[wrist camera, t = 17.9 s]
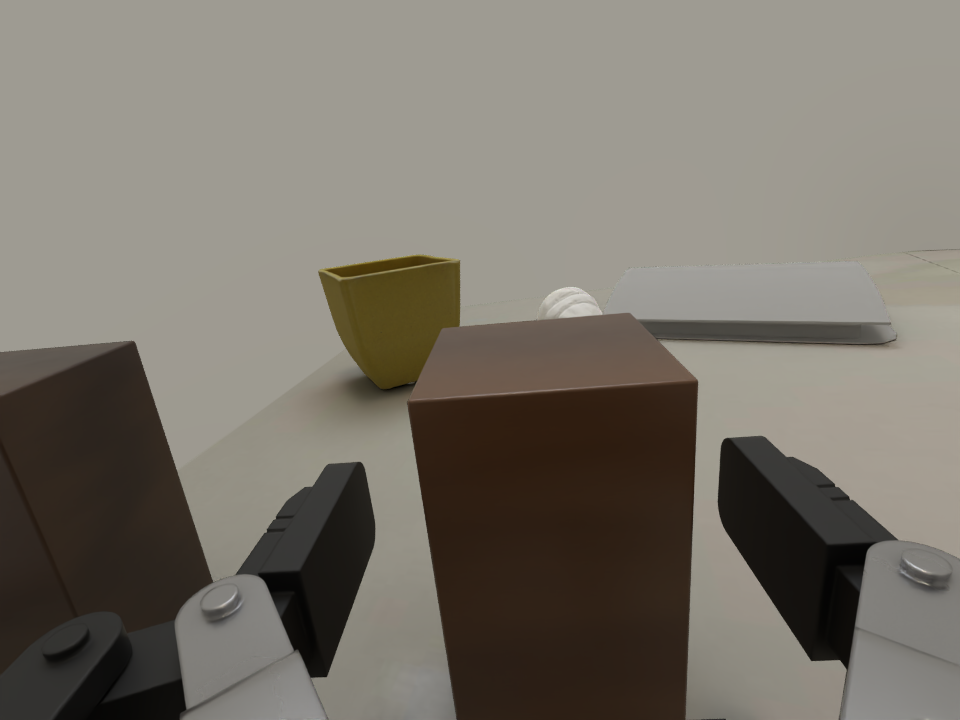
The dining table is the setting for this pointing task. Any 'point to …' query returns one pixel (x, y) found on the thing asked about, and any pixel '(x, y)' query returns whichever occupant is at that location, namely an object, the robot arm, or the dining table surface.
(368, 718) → the dining table surface
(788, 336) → the book
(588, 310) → the white swirl cone
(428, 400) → the walnut block middle
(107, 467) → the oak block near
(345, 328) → the flower pot
